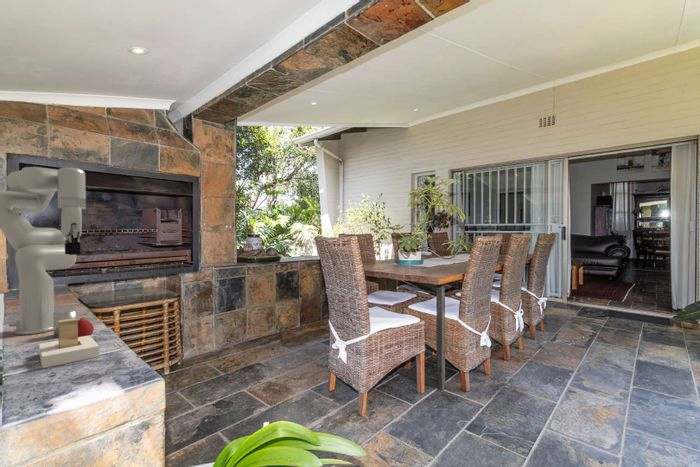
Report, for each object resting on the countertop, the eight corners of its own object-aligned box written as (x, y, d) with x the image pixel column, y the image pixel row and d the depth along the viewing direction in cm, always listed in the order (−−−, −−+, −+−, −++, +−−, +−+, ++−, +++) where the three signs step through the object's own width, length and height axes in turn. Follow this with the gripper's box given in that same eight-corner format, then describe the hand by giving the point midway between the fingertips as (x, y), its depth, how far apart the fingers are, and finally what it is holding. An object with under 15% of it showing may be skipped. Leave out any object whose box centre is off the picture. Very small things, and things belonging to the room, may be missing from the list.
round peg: (48, 337, 120) (48, 314, 120) (63, 332, 126) (62, 310, 126) (68, 336, 120) (68, 313, 120) (82, 331, 127) (81, 309, 127)
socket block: (39, 354, 102) (39, 343, 102) (90, 344, 110) (89, 335, 110) (42, 368, 90) (42, 356, 90) (98, 356, 99) (98, 345, 99)
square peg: (58, 355, 100) (58, 320, 100) (76, 352, 103) (76, 318, 103) (60, 358, 97) (59, 323, 97) (78, 355, 100) (77, 320, 100)
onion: (84, 344, 111) (83, 318, 111) (66, 344, 111) (66, 319, 111) (97, 338, 117) (97, 314, 117) (80, 339, 117) (80, 315, 117)
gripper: (55, 205, 123) (56, 254, 123) (60, 201, 111) (60, 255, 111) (82, 206, 129) (82, 253, 129) (89, 203, 116) (90, 254, 116)
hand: (72, 254), depth 120 cm, fingers open, 9 cm apart
